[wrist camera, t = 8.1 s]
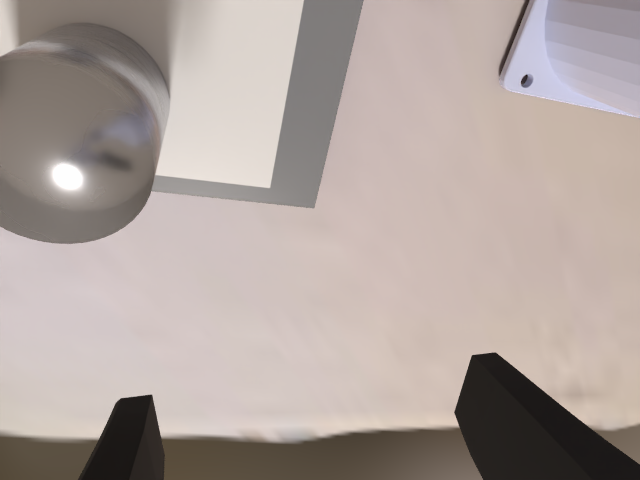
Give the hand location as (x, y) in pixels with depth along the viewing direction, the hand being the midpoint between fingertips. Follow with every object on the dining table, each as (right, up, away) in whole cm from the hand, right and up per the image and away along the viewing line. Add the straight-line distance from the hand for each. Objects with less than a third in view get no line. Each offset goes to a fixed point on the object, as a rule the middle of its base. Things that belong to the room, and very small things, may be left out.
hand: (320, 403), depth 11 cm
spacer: (-7, +8, +3) cm, 11 cm away
